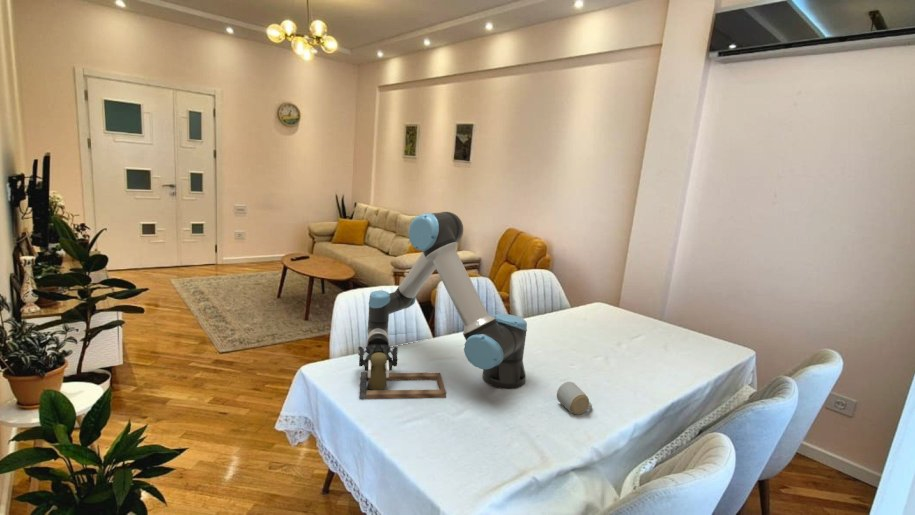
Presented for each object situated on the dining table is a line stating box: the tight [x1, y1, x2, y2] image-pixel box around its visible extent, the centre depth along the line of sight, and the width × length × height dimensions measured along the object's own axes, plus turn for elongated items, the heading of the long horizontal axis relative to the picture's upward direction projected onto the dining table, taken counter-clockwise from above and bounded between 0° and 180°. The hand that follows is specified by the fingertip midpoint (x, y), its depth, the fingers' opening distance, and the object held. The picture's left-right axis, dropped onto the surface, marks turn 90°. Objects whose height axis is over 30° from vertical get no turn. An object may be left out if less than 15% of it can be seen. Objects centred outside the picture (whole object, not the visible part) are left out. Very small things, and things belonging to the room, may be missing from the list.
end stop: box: [358, 371, 368, 400], centre depth 146 cm, size 2×14×2 cm, turn 10°
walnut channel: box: [365, 372, 447, 400], centre depth 148 cm, size 25×14×2 cm, turn 100°
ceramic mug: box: [556, 381, 593, 415], centre depth 144 cm, size 11×8×8 cm
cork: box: [367, 352, 388, 390], centre depth 146 cm, size 6×6×11 cm
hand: (378, 373), depth 140 cm, fingers closed on cork, 5 cm apart
